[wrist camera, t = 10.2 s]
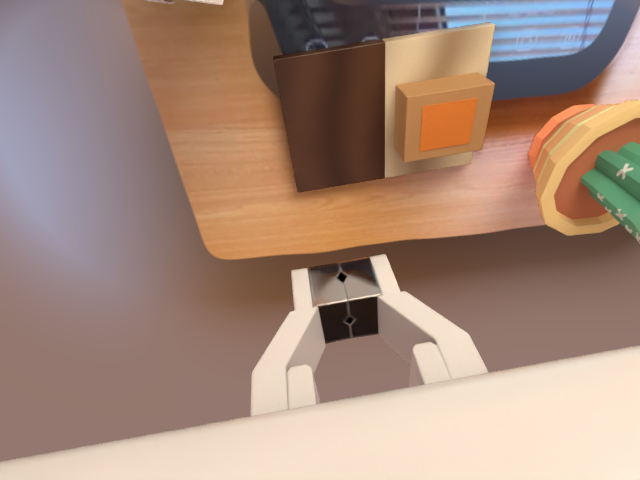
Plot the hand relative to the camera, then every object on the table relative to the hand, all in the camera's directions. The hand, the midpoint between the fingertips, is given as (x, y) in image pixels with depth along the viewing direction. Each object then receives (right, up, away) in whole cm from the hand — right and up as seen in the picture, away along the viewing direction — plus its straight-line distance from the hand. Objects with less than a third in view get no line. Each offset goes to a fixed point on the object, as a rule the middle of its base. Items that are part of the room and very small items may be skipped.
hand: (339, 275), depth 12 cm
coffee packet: (+11, +14, +25) cm, 31 cm away
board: (+6, +14, +26) cm, 30 cm away
